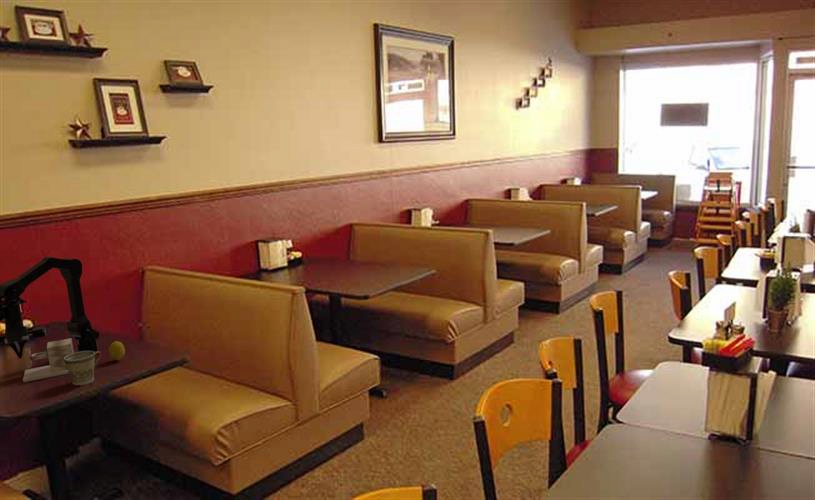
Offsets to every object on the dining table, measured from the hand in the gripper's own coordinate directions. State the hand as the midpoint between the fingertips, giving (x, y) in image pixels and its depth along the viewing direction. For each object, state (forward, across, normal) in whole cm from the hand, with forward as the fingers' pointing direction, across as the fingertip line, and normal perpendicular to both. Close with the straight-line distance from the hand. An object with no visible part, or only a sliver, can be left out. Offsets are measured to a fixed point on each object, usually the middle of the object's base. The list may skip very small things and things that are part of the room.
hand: (20, 358), depth 240 cm
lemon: (+8, +32, -2) cm, 33 cm away
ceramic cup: (+8, +21, -19) cm, 30 cm away
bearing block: (+7, +13, 0) cm, 15 cm away
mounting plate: (+7, +9, 0) cm, 12 cm away
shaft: (+3, +6, 0) cm, 7 cm away
